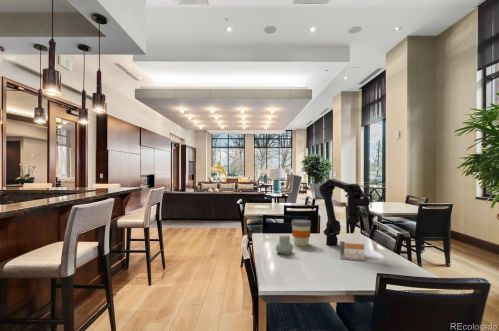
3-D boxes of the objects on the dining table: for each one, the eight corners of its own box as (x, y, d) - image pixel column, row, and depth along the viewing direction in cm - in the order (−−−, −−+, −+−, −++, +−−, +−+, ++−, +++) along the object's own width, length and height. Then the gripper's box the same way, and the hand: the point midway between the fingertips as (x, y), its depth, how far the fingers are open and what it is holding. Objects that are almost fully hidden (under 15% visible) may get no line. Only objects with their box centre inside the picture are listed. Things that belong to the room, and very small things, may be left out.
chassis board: (340, 258, 152) (340, 253, 152) (339, 249, 171) (339, 244, 172) (364, 261, 149) (364, 255, 149) (361, 251, 168) (361, 246, 168)
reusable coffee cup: (313, 243, 186) (313, 220, 186) (306, 247, 175) (306, 223, 176) (296, 240, 193) (296, 218, 193) (288, 244, 182) (288, 221, 182)
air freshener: (289, 256, 156) (289, 238, 157) (275, 254, 159) (275, 236, 159) (293, 251, 167) (293, 234, 167) (279, 249, 170) (279, 233, 170)
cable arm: (339, 248, 161) (339, 242, 161) (339, 247, 163) (339, 241, 163) (364, 250, 157) (364, 244, 157) (363, 249, 160) (363, 242, 160)
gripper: (369, 207, 155) (369, 236, 155) (365, 204, 173) (365, 229, 173) (348, 206, 158) (347, 234, 158) (346, 203, 176) (346, 228, 176)
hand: (352, 231), depth 166 cm, fingers open, 5 cm apart
